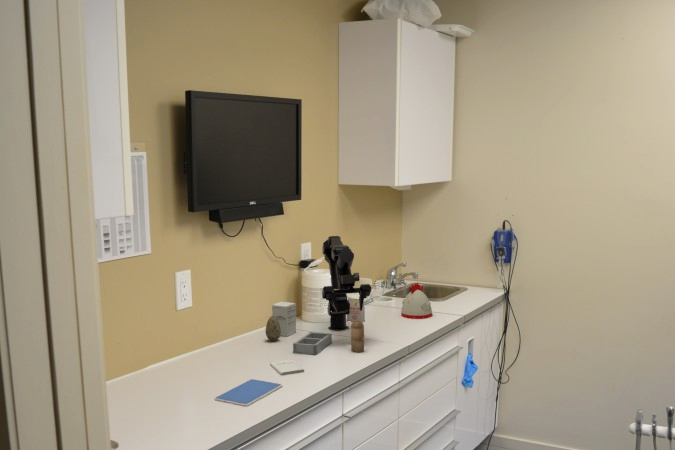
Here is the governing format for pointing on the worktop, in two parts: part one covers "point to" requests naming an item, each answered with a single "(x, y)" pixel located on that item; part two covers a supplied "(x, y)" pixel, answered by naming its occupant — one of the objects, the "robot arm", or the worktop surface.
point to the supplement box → (285, 317)
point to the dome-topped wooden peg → (357, 337)
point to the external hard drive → (286, 367)
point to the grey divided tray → (312, 343)
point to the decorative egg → (273, 329)
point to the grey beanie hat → (416, 304)
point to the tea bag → (355, 311)
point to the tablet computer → (248, 392)
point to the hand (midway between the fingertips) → (349, 311)
